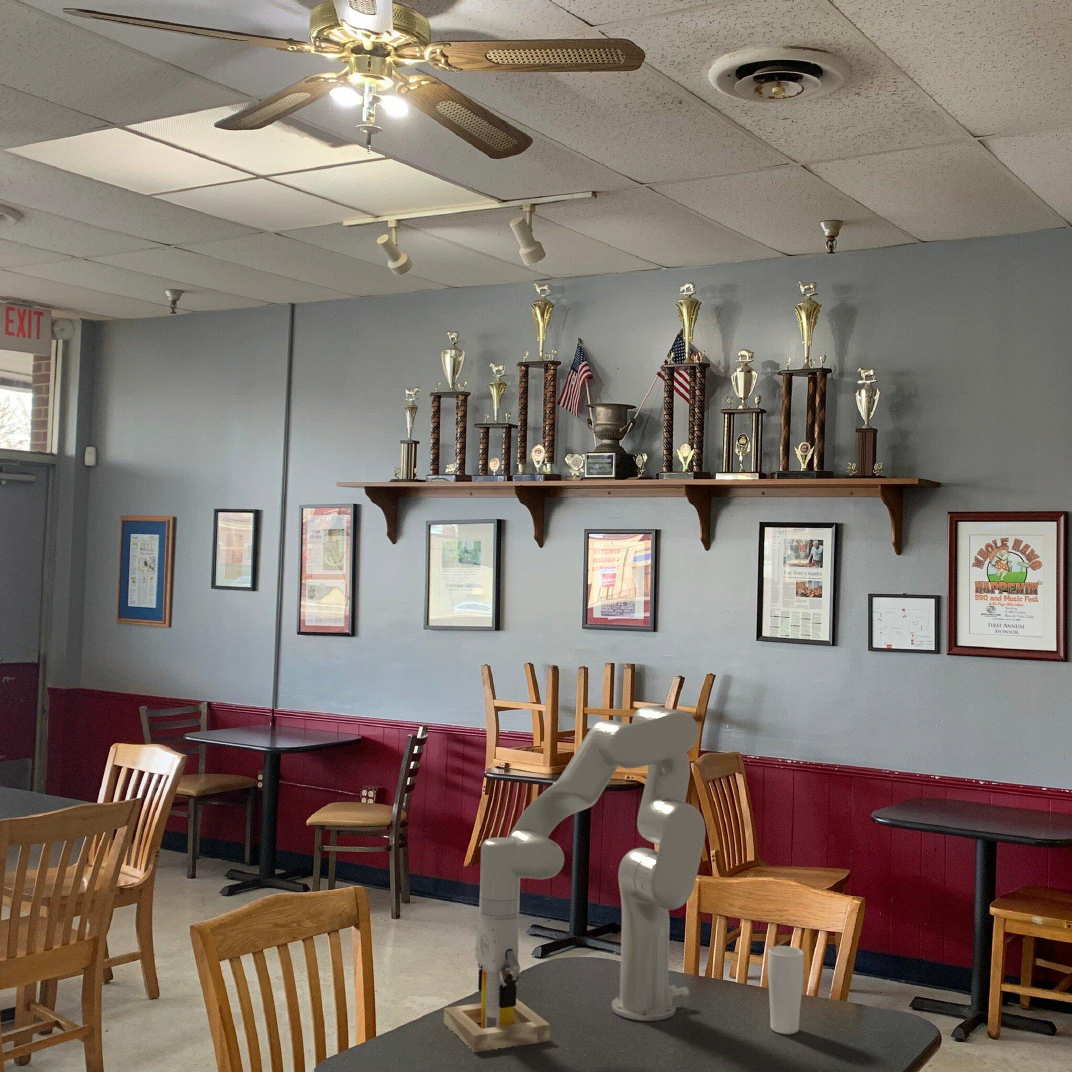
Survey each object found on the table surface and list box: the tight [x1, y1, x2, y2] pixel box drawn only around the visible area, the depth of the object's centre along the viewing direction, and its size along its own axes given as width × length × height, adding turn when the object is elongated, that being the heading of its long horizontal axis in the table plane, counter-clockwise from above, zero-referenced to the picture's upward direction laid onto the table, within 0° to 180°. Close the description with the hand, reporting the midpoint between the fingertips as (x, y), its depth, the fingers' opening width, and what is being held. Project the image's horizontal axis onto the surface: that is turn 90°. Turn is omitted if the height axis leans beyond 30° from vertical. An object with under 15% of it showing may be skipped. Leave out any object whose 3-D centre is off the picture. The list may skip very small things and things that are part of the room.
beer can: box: [480, 957, 514, 1029], centre depth 224 cm, size 6×6×15 cm
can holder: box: [443, 998, 551, 1053], centre depth 224 cm, size 15×15×3 cm
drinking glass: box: [767, 945, 805, 1035], centre depth 229 cm, size 7×7×15 cm
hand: (496, 998), depth 224 cm, fingers open, 9 cm apart
